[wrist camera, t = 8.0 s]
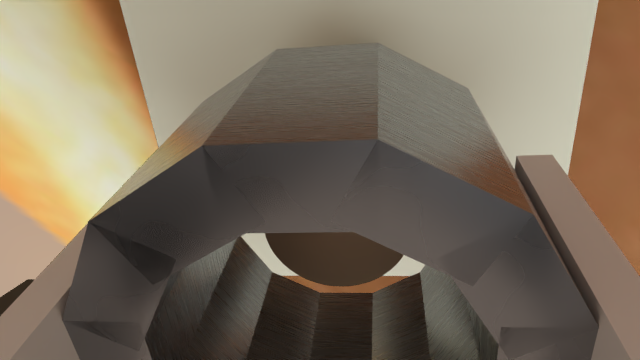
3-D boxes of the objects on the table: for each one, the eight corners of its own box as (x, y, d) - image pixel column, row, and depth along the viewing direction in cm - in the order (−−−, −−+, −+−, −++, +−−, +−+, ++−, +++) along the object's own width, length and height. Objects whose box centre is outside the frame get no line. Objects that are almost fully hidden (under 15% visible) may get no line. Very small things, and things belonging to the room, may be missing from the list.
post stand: (110, -119, 17) (-155, -149, 8) (608, -176, 15) (908, -292, 6) (202, 255, 24) (110, 433, 16) (540, 254, 22) (635, 459, 14)
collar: (146, 57, 11) (-13, 153, 6) (527, 32, 10) (649, 129, 5) (214, 326, 14) (143, 503, 10) (494, 330, 13) (550, 531, 9)
